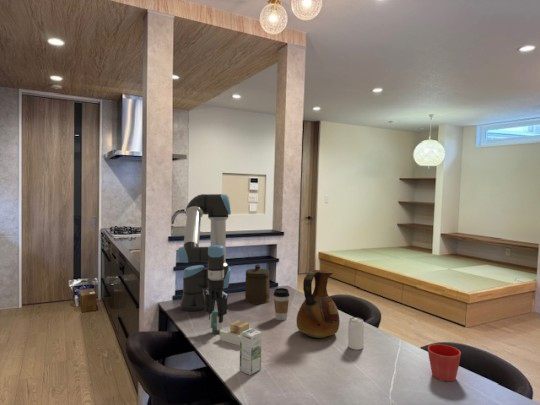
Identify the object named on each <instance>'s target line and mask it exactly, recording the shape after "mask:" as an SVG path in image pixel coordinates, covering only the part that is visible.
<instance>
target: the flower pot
mask: <svg viewBox="0 0 540 405" xmlns="http://www.w3.org/2000/svg"><path fill="white" fill-rule="evenodd" d="M427 354H428V359H429V364H430V371H431V375H432V376H433V377H434V379H436V380H438V381H441V382H454V381H456V379H457V375H458V370H459V367H460V360H461V356H462V352H461V350H459V349H458V348H457V347H454V346H451V345H447V344H443V343H442V344H441V343H439V344H437V343H434V344H430V345H429V346H428V347H427Z"/></svg>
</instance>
